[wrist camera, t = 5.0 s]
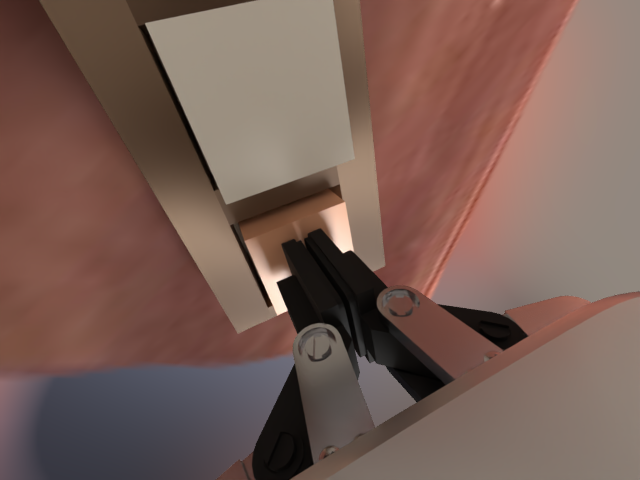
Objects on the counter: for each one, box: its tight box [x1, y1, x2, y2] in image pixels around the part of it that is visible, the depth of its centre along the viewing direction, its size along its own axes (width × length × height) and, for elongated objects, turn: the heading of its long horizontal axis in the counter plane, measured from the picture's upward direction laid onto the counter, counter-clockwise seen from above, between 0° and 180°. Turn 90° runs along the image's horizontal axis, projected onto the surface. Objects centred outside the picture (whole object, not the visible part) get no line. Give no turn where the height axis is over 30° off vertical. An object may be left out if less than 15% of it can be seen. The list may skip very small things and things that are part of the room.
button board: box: [39, 0, 385, 333], centre depth 10 cm, size 18×8×3 cm, turn 13°
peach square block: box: [238, 189, 354, 315], centre depth 13 cm, size 4×4×3 cm
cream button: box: [145, 0, 355, 205], centre depth 8 cm, size 4×4×3 cm
